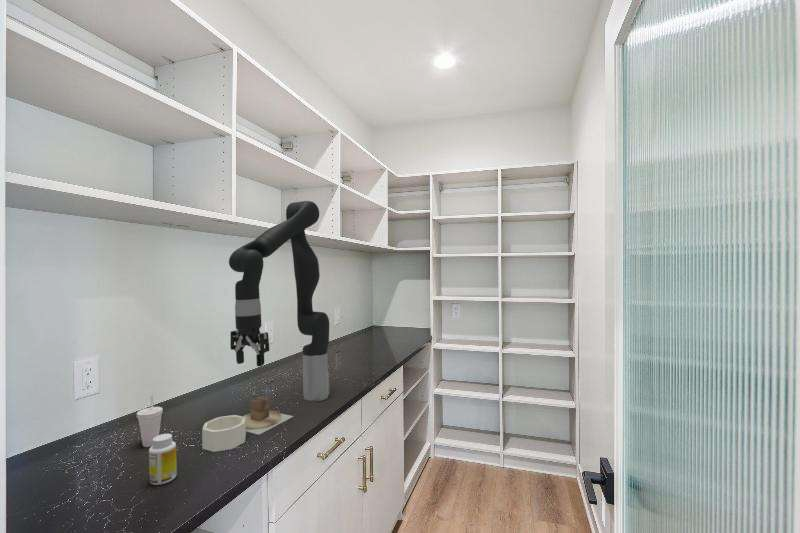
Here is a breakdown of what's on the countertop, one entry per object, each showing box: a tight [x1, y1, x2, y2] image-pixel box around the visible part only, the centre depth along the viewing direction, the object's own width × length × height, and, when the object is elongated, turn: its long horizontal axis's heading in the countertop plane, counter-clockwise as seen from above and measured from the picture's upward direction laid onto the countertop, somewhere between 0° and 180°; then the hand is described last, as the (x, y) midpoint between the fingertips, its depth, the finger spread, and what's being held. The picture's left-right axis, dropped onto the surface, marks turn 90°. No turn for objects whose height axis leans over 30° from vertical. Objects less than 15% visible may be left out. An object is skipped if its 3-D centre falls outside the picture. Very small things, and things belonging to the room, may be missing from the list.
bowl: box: [201, 414, 247, 453], centre depth 109 cm, size 11×11×6 cm
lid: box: [241, 396, 282, 430], centre depth 123 cm, size 13×13×7 cm
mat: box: [246, 412, 294, 436], centre depth 123 cm, size 15×15×1 cm
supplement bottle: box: [148, 433, 178, 486], centre depth 91 cm, size 6×6×10 cm
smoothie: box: [136, 394, 164, 448], centre depth 109 cm, size 6×6×14 cm
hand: (250, 364), depth 119 cm, fingers open, 8 cm apart
